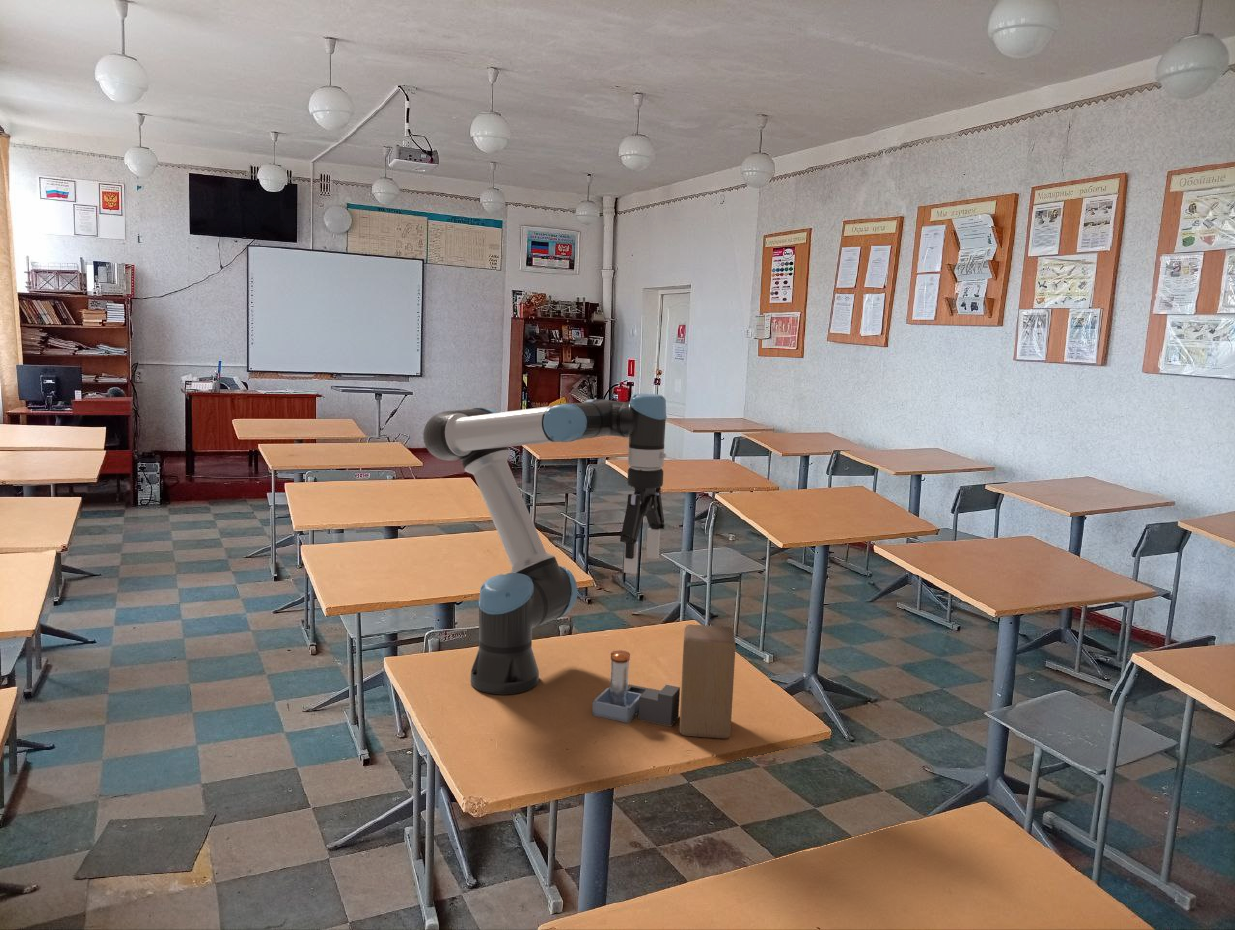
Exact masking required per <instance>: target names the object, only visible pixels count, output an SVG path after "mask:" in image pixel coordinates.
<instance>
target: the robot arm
mask: <svg viewBox="0 0 1235 930" xmlns="http://www.w3.org/2000/svg"><path fill="white" fill-rule="evenodd" d="M666 403H667V400H666V398H665V397H664V396H663V395H662V394H657V393H655V394H654V393H634V394H631V397H630V400H629V402H628V401H627V402H626V401H616V400H607V399H602V398H595V399H590V398H589V399H587V400H585V401H584V402H576V403H559V404H557V405H550V406H549V405H548V406H541V407H540V406H539V407H534V408H525V409H517V410H509V411H502V412H499V411H497V410H494V409H492V408H488V407H487V408H486V407H485V408H484V407H473V408H470V409H469V408H468V409H467V408H466V409H458V410H444V411H441V412H438V413H436V414H435V415H433V416H432V417H430V419H428V421H427V422H426V423H425V425H424V429H423V434H422V435H423V436H422V440H423V443H424V446H425V449H427V451H428V452H429V454H430V455H432V456H434V457H435V458H436V459H439V460H443V461H450V462H451V461H460V462H461V465H462V467H463V469H464V472H466V473H468V474H471V475H473V477H474V479H475V482H476V484H477V486H478V489H479V491H480V493H481V494H480V495H481V496H482V498H483V501H484V502H485V505H486V508H487V510H488V512H489V514H490V517H491V520H492V522H493V524H494V527H495V529H496V531H497V534H498V535H499V538H500V541H501V543H502V545H503V548H504V551H505V553H506V556H507V558H508V559H509V562H510V565H511V569H510V572H507V573H506V574H503V573H501V574H497V575H493V576H491V577H490V578H487V579H486V580H485V581H483V583H482V584H481V586H480V589H479V597H478V650H477V653H476V657H475V659H474V661H473V665H472V667H471V670H470V685H471V686H472V687H473V688H474V689H476V690H478V691H480V692H482V693H487V694H491V695H504V696H505V695H514V694H521V693H524V692H527V691H531V690H532V689H534V688H535V687H536V686H537V685H538V684H539V681H540V680H539V679H540V677H539V676H540V670H539V668H538V667H539V666H538V664H537V660H536V657H535V655H534V654H535V653H534V651H533V645H532V643H533V641H532V640H533V629H535V628H537V627H539V626H541V625H544V624H546V623H549V622H551V621H554V620H557V619H559V618H562V617H563V616H564V615H566V614H567V613H569V612H570V611H571V610H572V609H573V608H574V606H575V604H576V600H577V598H578V584H577V583H578V582H577V580H576V577H575V576H574V574H573V573H572V571H571V570H570V569H567V568H566V567H565V566H563V565H559V563H558V560H557V559H556V556H555V555H554V554H551V553H549V552H547V551H546V549H545V547H544V544H543V542H542V540H541V538H540V535H539V533H538V530H537V527H536V526H535V523H534V522H533V519H532V516H531V515H530V512H529V509H528V508H527V505H526V503H525V500H524V498H523V495H522V492H521V491H520V489H519V486H518V484H517V481H516V479H515V476H514V475H513V473H512V470H511V468H510V465H509V462H508V458H509V456H510V455H511V452H510V449H509V447H517V446H518V447H519V446H529V445H540V444H546V443H547V444H550V443H570V442H575V441H580V440H586V439H592V438H600V437H605V436H607V437H610V436H611V437H621V438H626V439H627V438H628V453H627V454H628V455H627V456H628V457H627V465H628V466H629V468H628V469H627V484H628V486H629V487H633V488H634V493H633V494H631V493H630V494H627V502H626V503H627V504H626V509H625V515H624V519H623V523H622V529H621V534H620V538H619V541H620V543H624V552H623V553H624V554H623V555H624V557H623V573H626V574H631V575H638V560H639V559H638V558H639V557H638V555H639V542H637V540H638V537H639V533H640V531H641V527H642V524H643V521H644V518H646V520H647V523H648V526H649V528H647V531H646V532H647V535H646V556H645V558H647V559H656V560H659V559H660V546H661V545H660V542H661V530H664V529H665V526H666V525H665V524H664V523H665V517H664V510H663V502H662V493H661V492H662V491H661V489H662V487H663V485H664V470H663V469H662V468H663V466H664V464H665V463H664V461H665V459H666V458H667V454H666V453H665V436H666V423H667V421H666V420H667V418H668V416H667V404H666Z"/></svg>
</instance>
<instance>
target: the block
mask: <svg viewBox="0 0 1235 930" xmlns="http://www.w3.org/2000/svg"><path fill="white" fill-rule="evenodd" d="M683 635H684V636H683V646H682V647H683V651H682V671H681V687H680V707H679V729H678V730H679V733H680V734H681V735H683V736H687V737H688V736H690V737H701V738H713V739H728V738H729V737H730V736H731V730H732V728H731V727H732V713H733V696H734V694H733V693H734V679H735V665H736V664H735V662H736V648H737V647H736V638H735V637H736V636H735V630H734V628H732V627H730V626H721V625H720V626H718V625H716V626H715V625H705V624H704V625H702V624H686V626H685V627H684V634H683Z"/></svg>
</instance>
